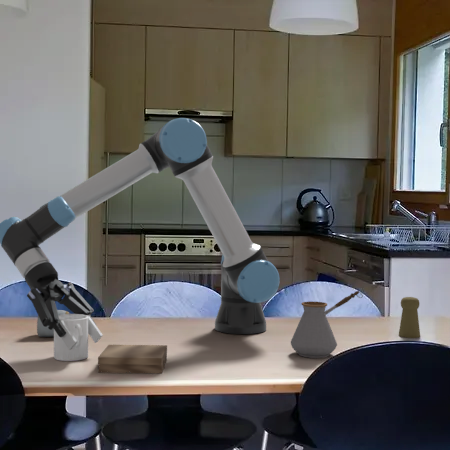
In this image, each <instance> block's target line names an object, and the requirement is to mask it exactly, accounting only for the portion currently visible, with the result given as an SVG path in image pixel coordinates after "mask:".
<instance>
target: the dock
mask: <svg viewBox="0 0 450 450" xmlns="http://www.w3.org/2000/svg"><path fill="white" fill-rule="evenodd" d="M167 361H168V345H164V344H163V345H159V344H158V345H157V344H107V346H106V347H105V349H104V350H103V351H102V352H101V354H100V355H99V356H98V358H97V364H98V373H101V374H102V373H104V374H105V373H106V374H107V373H108V374H109V373H112V374H114V373H117V374H118V373H119V374H162V373H163V371H164V369H165V366H166V364H167ZM126 372H127V373H126ZM129 372H131V373H129Z"/></svg>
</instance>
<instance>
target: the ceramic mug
mask: <svg viewBox="0 0 450 450" xmlns="http://www.w3.org/2000/svg"><path fill="white" fill-rule="evenodd" d="M57 312H58V315H63V314H70V312H69V311H67V310H62V309H57ZM46 319H47V318H46ZM36 322H37V323H36V324H37V325H36V333H37V336H38V337H39V338H41V337H42V338H45V337H49V338H50V337H52V338H54V328H53V329H52V330H50V329H49V328H48V327H49V326H47V327H44V326H43V324H42V322H41V320H40V318H39V316H38V315H37V321H36Z"/></svg>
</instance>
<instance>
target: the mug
mask: <svg viewBox="0 0 450 450" xmlns="http://www.w3.org/2000/svg"><path fill="white" fill-rule="evenodd" d="M58 316H59V322H60V321H62V320H63V321H64V323H65V324H66V326H67V327H68V328H69V330H70V331H71V333H72V334H73V336H74V337H75V339H76V340H77V344H76V345H75V346H74V347H73V348H72V349H71V350H69V349H68V347H67V346H66V344H65V343H64V341H63V340H62V338H61V337H59V336H58V334H57V333H56V331H55V330H54V337H53V359H55V360H57V361H61V362H76V361H81V360H86V359H87V358H88V357H89V334H88V316H87V315H83V314H74V313H69V314H63V315H58Z"/></svg>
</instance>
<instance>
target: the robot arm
mask: <svg viewBox="0 0 450 450" xmlns="http://www.w3.org/2000/svg"><path fill="white" fill-rule="evenodd" d="M213 160H214V155H213V153H212V151H211V149H210V146H209V145H208V140H207V134H206V132H205V130H204V128H203V127H202V126H201V124H199V122H197V121H195V120H193V119H192V118H191V119H190V118H186V117H179V118H174V119H172V120H171V119H170V120H169V121H167V123H165V124H163V125H162V126H161V127H160V128H159V129H158V130H157V131H156V132H155V133H154V134H151V136H150V137H149V138H148V139H146V140H144V141H142V142H141V143H139V146H138V149H136V150H135V151H132V152H131V153H129V154H128V155H126V156H124V157H123V158H121V159H120V160H118V161H116V162H114V163H112V164H111V165H109V166H107V167H106V168H104V169H102V170H101V171H99V172H97V173H96V174H94V175H92V176H91V177H89V178H88V179H86V180H84V181H83V182H80V183H78V184H77V185H76V186H74V187H73V188H70V189H68V190H67V191H66V192H64V193H62V194H61V195H59V196H56V197H55V198H53V199H50V200H49V201H47V203H44V204H43V205H41V206H40V207H39V208H38V209H37V210H36V211H34V212H33V213H31V214H30V215H29V216H27V217H25V218H23V219H20V218H19V217H17V216H12V217H9V218H6V219H4V220H2V221H1V222H0V246H1V248H2V249H3V251H4V252H5V254H6V255H7V257H8V258H9V259H10V261H11V262H12V264H13V265H14V266H15V267H16V269H17V271H18V272H19V273H20V275H21V276H22V277H23V279H24V281H25V283H26V284H27V286H28V287H29V289H30V290H29V291H28V293H27V294H26V297H27V298H28V300H29V301H31V303H32V305H33V307H34V310H35V312H36V313H37V317H38V316H39V318H40V320H41V322H42V324H43V326H44V327H47V326H49V327H48V328H49V329H50V330H52V329H53V328H54V330H55V331H56V333H57V334H58V336H59V337H61V338H62V340H63V341H64V343H65V344H66V346H67V347H68V349H69V350H71V349H72V348H73V347H74V346H75V345H76V344H77V340H76V339H75V337H74V336H73V334H72V333H71V331H70V330H69V328H68V327H67V326H66V324H65V323H64V321H63V320H62V321H60V322H59V316H58V312H57V310H58V308H57V304H56V302H57V303H59V304H60V305H64V306H65V307H66V309H68V310H70V311H71V312H72V314H83V315H87V316H88V336H89V337H90V338H91V339H92V341H93V343H94V344H96V343H98V342H99V340H100V339H102V337H103V336H104V335H103V333H102V331H101V330H100V328H98V325H97V323H96V322H95V320H94V319H93V317H92V316H91V315H92V314H93V312H94V311H95V310H94V308H93V307H92V306H91V305H90V304H89V303H88V302H87V300H85V298H84V297H83V296H82V295H81V294H80V292H79V291H77V290H76V288H75V286H74V284H73V283H72V282H71V281H70V282H68V283H67V284H64V283H63V282H61V280H59V273H58V271H57V270H56V268H55V266H54V265H53V264H52V263H51V262H50V259H49V258H48V257H47V255H46V254H45V252H44V251H43V249H42V248H41V246H40V245H41V244H43V243H44V242H45V241H47V240H48V239H50V238H52V237H53V236H54V235H56V234H58V233H59V232H60V231H62V230H63V229H64V228H66V227H68V226H69V225H70V224H71V223H73V222H74V221H75V220H76V219H77V218H79V217H80V216H82V215H84V214H85V213H88V211H90V210H93V208H95V207H97V206H98V205H100V204H102V203H104V202H106V201H107V200H109V199H111V198H112V197H114V196H115V195H117V194H119V193H120V192H122V191H124V190H126V189H127V188H129V187H131V186H132V185H133V184H136V183H137V182H139V181H141V180H142V179H144V178H145V177H148V176H149V175H150V174H153V173H154V174H159V173H161V172H163V171H164V170H166V169H170V170H171V172H172V174H173V176H174V177H175V178H176V179H180V180H182V181H183V183H184V184H185V186H186V188H187V190H188V192H189V194H190V196H191V198H192V199H193V201H194V203H195V205H196V207H197V209H198V210H199V212H200V214H201V216H202V218H203V220H204V222H205V224H206V225H207V228H208V230H209V231H210V233H211V234H212V237H213V238H214V240H215V243H216V244H217V246H218V249H219V250H220V252H221V253H222V254H221V261H220V267H221V268H220V270H221V272H220V276H221V279H220V282H221V283H220V288H221V289H220V306H219V308H218V311H217V314H216V318H215V321H214V330H215V331H217V332H220V333H224V334H230V335H231V334H232V335H252V334H253V335H254V334H259V333H264V332H265V331H267V320H266V316H265V314H264V310H263V307H262V304H261V303H264V302H267V301H269V300H270V299H272V298H273V297H274V296H275V294H276V293H277V291H278V289H279V286H280V281H281V279H280V274H279V271H278V269H277V268H276V266H275V265H274V264H273V263H272V262H271V261H269V260H268V258H267V256H266V254H265V252H264V250H263V249H262V246H261V245H260V244H257V243H254V242H253V241H252V240H251V238H250V236H249V233H248V231H247V230H246V228H245V227H244V224H243V223H242V221H241V218H240V216H239V215H238V212H237V211H236V208H235V207H234V205H233V204H232V202H231V199H230V198H229V196H228V194H227V192H226V190H225V188H224V186H223V185H222V182H221V180H220V179H219V176H218V175H217V173H216V171H215V169H214V167H213V164H212V163H213ZM46 318H47V319H46Z"/></svg>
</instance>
